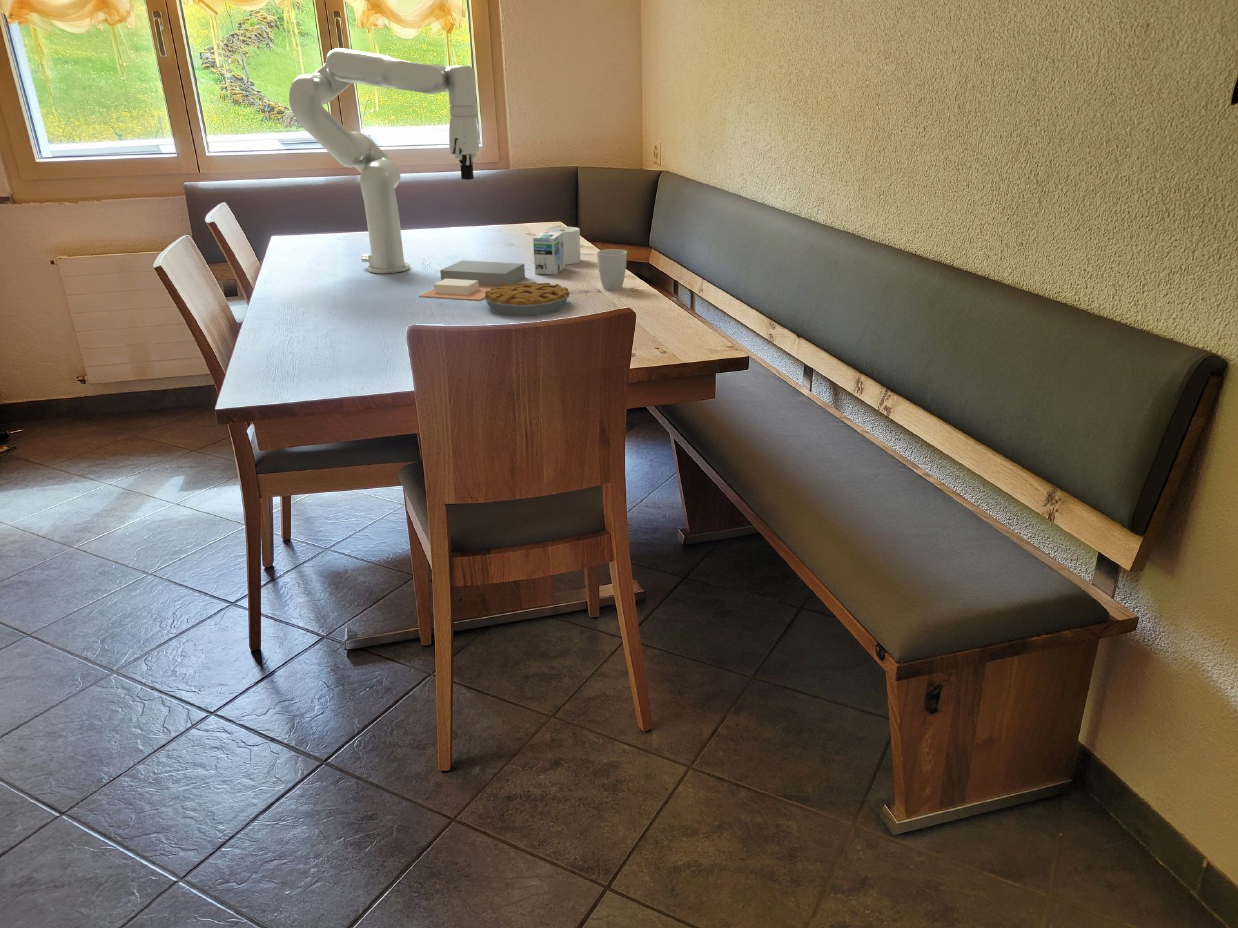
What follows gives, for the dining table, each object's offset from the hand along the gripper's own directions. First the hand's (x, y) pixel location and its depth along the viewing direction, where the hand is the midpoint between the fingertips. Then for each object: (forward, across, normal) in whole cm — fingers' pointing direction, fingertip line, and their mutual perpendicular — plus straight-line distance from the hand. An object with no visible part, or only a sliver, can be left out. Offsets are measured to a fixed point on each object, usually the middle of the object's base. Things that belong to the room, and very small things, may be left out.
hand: (467, 179), depth 260 cm
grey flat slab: (+26, +15, +11) cm, 32 cm away
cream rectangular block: (+25, +29, +10) cm, 40 cm away
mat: (+26, +29, +12) cm, 41 cm away
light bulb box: (+26, -3, +24) cm, 36 cm away
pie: (+26, +38, +36) cm, 58 cm away
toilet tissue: (+26, -17, +23) cm, 39 cm away
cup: (+26, +13, +50) cm, 58 cm away
